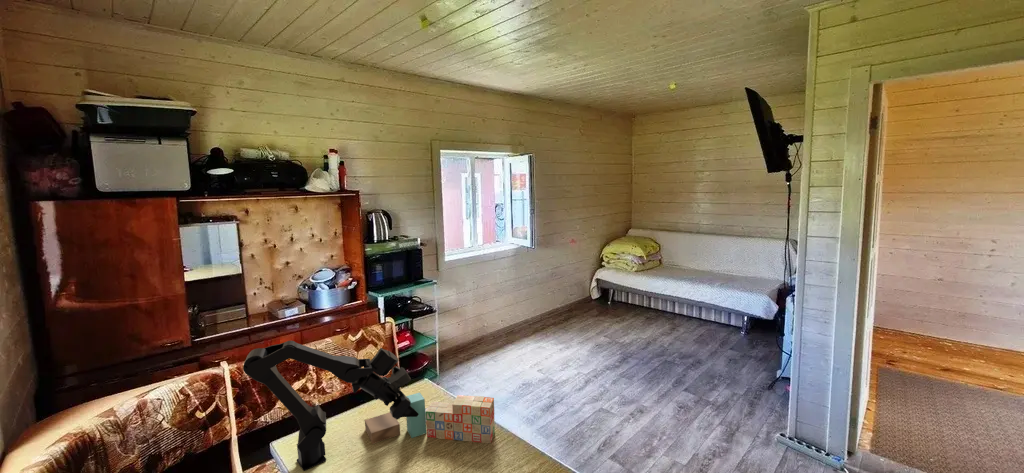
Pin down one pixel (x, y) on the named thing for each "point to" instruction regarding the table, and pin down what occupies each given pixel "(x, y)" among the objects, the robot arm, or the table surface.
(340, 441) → the table surface
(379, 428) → the walnut block
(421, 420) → the teal block
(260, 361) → the robot arm
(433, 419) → the stack of blocks
